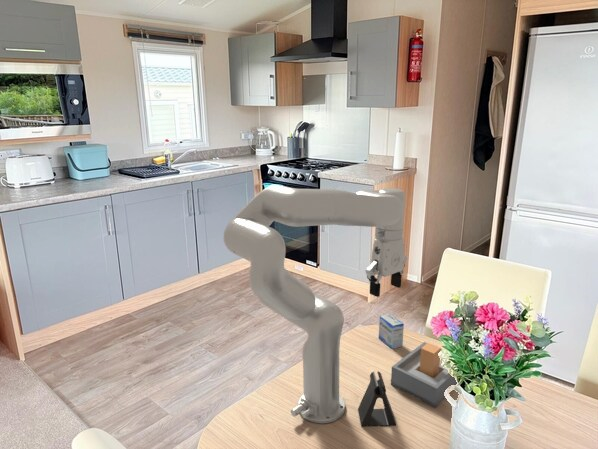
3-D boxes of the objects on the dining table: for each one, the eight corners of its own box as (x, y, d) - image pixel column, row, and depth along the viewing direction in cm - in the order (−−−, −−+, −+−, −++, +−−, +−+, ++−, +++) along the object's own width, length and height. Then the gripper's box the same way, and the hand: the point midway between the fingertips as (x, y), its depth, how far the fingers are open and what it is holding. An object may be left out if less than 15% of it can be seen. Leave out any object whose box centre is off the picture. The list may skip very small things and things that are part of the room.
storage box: (435, 407, 116) (436, 388, 114) (390, 384, 125) (391, 366, 123) (465, 377, 128) (467, 359, 126) (423, 358, 137) (424, 341, 136)
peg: (431, 384, 123) (434, 353, 121) (419, 378, 126) (421, 348, 123) (438, 377, 126) (440, 347, 123) (425, 372, 129) (427, 342, 126)
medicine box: (378, 338, 149) (378, 315, 147) (388, 335, 151) (389, 312, 149) (392, 349, 143) (393, 326, 140) (403, 346, 144) (404, 323, 142)
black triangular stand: (391, 409, 115) (393, 370, 112) (396, 426, 109) (398, 385, 106) (357, 410, 115) (358, 371, 112) (360, 426, 110) (361, 386, 106)
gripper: (380, 242, 111) (376, 303, 116) (418, 230, 122) (414, 286, 127) (357, 236, 117) (355, 294, 121) (396, 225, 128) (393, 279, 132)
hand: (385, 290), depth 124 cm, fingers open, 9 cm apart
